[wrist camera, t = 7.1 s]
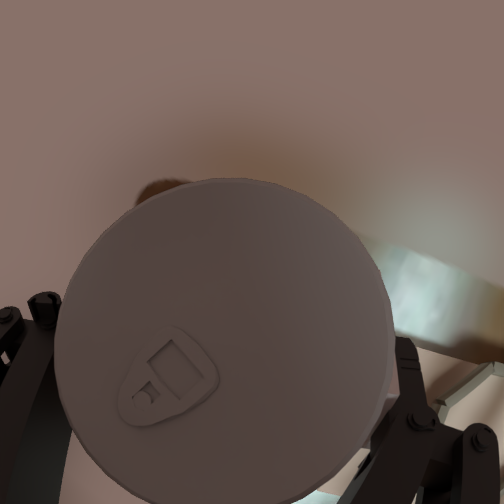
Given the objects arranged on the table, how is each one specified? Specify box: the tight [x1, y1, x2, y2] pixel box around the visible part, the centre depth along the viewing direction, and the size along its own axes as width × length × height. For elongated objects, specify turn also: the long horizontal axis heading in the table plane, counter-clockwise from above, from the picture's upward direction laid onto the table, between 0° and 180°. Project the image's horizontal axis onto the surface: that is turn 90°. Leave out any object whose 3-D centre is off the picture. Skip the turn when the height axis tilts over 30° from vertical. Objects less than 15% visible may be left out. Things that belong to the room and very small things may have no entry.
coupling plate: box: [317, 347, 504, 504], centre depth 14 cm, size 24×13×5 cm, turn 69°
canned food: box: [54, 178, 395, 504], centre depth 11 cm, size 8×8×11 cm
